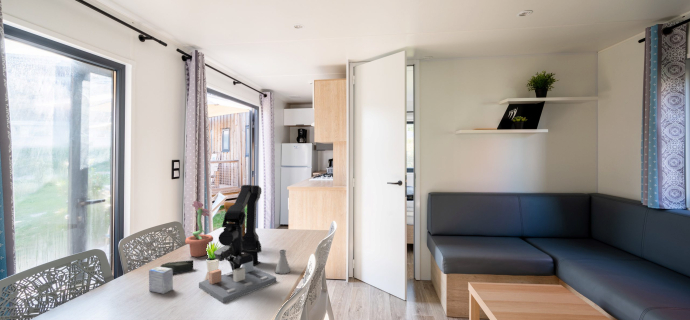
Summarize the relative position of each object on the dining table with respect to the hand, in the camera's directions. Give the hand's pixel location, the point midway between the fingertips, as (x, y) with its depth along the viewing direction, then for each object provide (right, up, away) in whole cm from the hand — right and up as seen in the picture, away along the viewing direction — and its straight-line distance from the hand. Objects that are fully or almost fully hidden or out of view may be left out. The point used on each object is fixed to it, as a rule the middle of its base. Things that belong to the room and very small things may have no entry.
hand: (235, 274), depth 124 cm
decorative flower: (-33, -3, +35) cm, 48 cm away
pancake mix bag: (-16, -3, +43) cm, 46 cm away
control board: (+2, -4, -2) cm, 4 cm away
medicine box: (-27, -4, -7) cm, 29 cm away
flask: (+18, -4, +13) cm, 22 cm away
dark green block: (-32, -4, +11) cm, 34 cm away
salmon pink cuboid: (-7, -1, -4) cm, 8 cm away
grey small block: (+3, -1, +7) cm, 8 cm away
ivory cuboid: (+2, -1, -2) cm, 3 cm away
